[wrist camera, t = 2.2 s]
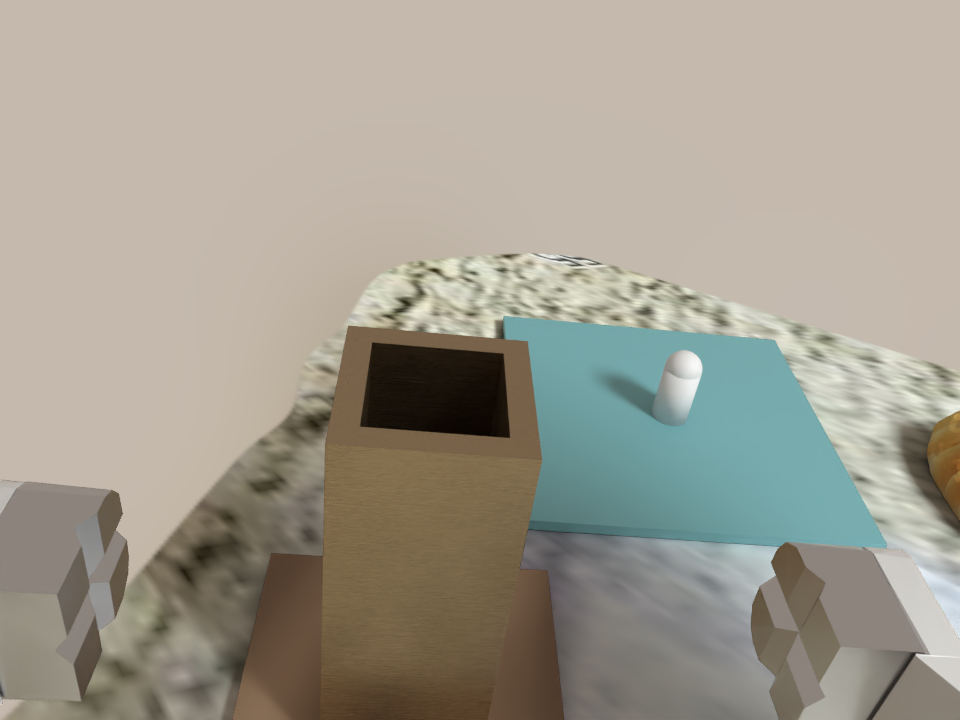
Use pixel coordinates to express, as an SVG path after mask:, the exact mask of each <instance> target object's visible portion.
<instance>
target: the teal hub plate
mask: <svg viewBox="0 0 960 720" xmlns="http://www.w3.org/2000/svg"><path fill="white" fill-rule="evenodd" d="M503 335H504V339H508V340H520V341H528V347H529V355H530V364H531V372H532V380H533V388H534V396H535V405H536V413H537V421H538V429H539V437H540V446H541V454H542V464H541V469H540V474H539V479H538V483H537V488H536V493H535V498H534V502H533V507H532V512H531V516H530V521H529V526H528V529H531V530H545V531H560V532H575V533H590V534H605V535H620V536H634V537H649V538H664V539H679V540H694V541H708V542H723V543H738V544H753V545H768V546H782V545H783V544H784V543H785V542H798V543H813V544H828V545H843V546H857V547H860V548H862V547H873V548H886V546H887V543H886V542H885V540H884V538H883V536H882V534H881V532H880V531H879V529H878V527H877V525H876V523H875V522H874V520H873V518H872V516H871V514H870V512H869V511H868V509H867V507H866V505H865V503H864V502H863V500H862V498H861V496H860V494H859V493H858V491H857V489H856V487H855V485H854V483H853V482H852V480H851V478H850V476H849V474H848V473H847V471H846V469H845V467H844V465H843V463H842V462H841V460H840V458H839V456H838V454H837V453H836V451H835V449H834V447H833V445H832V443H831V442H830V440H829V438H828V436H827V434H826V433H825V431H824V429H823V427H822V425H821V423H820V422H819V420H818V418H817V416H816V414H815V413H814V411H813V409H812V407H811V405H810V404H809V402H808V400H807V398H806V396H805V394H804V393H803V391H802V389H801V387H800V385H799V384H798V382H797V380H796V378H795V376H794V374H793V373H792V371H791V369H790V367H789V365H788V364H787V362H786V360H785V358H784V356H783V354H782V353H781V351H780V349H779V347H778V345H777V344H776V342H775V340H768V339H757V338H746V337H734V336H723V335H712V334H701V333H689V332H678V331H667V330H655V329H644V328H633V327H621V326H610V325H599V324H588V323H576V322H565V321H554V320H542V319H531V318H520V317H509V316H504V318H503Z"/></svg>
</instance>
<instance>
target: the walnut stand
mask: <svg viewBox="0 0 960 720" xmlns="http://www.w3.org/2000/svg"><path fill="white" fill-rule="evenodd" d="M322 590H323V556H309V555H294V554H278V553H271V557H270V561H269V565H268V569H267V574H266V578H265V582H264V586H263V591H262V595H261V599H260V603H259V608H258V612H257V616H256V620H255V625H254V629H253V633H252V637H251V641H250V646H249V650H248V654H247V658H246V663H245V667H244V671H243V675H242V680H241V684H240V688H239V692H238V697H237V701H236V705H235V709H234V714H233V718H232V720H320V698H321V644H322ZM488 720H564V713H563V704H562V695H561V686H560V678H559V669H558V660H557V651H556V642H555V633H554V624H553V615H552V606H551V597H550V588H549V579H548V571H546V570H530V569H519V573H518V578H517V583H516V588H515V592H514V597H513V602H512V607H511V611H510V616H509V621H508V626H507V630H506V635H505V640H504V645H503V649H502V654H501V659H500V664H499V668H498V673H497V678H496V683H495V687H494V692H493V697H492V702H491V706H490V711H489V716H488Z"/></svg>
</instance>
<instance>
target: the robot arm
mask: <svg viewBox="0 0 960 720" xmlns="http://www.w3.org/2000/svg"><path fill="white" fill-rule="evenodd" d="M122 514H123V513H122V508H121V503H120V498H119V494H118V493H117V492H115V491H113V490H104V489H95V488H85V487H74V486H64V485H56V484H45V483H36V482H17V481H8V480H7V481H6V480H0V705H2V699H20V700H55V701H82V699H83V696H84V694H85V691H86V689H87V686H88V684H89V681H90V679H91V677H92V674H93V672H94V669H95V667H96V664H97V662H98V660H99V657H100V655H101V652H102V648H101V642H100V637H99V630H100V629H102V628H103V627H104V626H106V625H107V624H108V623H110V622H111V621H112V620H114V619H115V617H116V615H117V612H118V610H119V607H120V604H121V602H122V599H123V595H124V591H125V586H126V581H127V576H128V560H129V555H128V547H127V540H126V539H125V538H123V536H121V535H120V534H119V533H118V532H117V531H116V528H117V526H118V523H119V521H120V519H121V516H122ZM771 563H772V566H773V569H774V571H775V574H776V576H775V577H773V578H772V579H770V580H769V581H767V582H766V583H764V584H763V585H761V586H760V587H759V590H758V592H757V595H756V597H755V599H754V602H753V604H752V616H751V630H752V638H753V643H754V646H755V650H756V653H757V656H758V659H759V661H760V662H761V663H763V664H764V665H765V666H766V667H767V668H768V669H769V670H770V671H771V672H772V673H773V674H774V675H775V676H776V678H775V680H774V682H773V684H772V687H771V689H770V691H769V692H770V695H771V698H772V701H773V703H774V706H775V709H776V712H777V715H778V718H779V720H960V640H959V638H958V636H957V634H956V633H955V631H954V629H953V628H952V626H951V624H950V622H949V621H948V619H947V617H946V615H945V614H944V612H943V610H942V609H941V607H940V605H939V603H938V602H937V600H936V598H935V597H934V595H933V593H932V591H931V590H930V588H929V586H928V585H927V583H926V581H925V579H924V578H923V576H922V574H921V572H920V571H919V569H918V567H917V566H916V564H915V562H914V560H913V559H912V557H911V556H910V555H908V554H907V553H906V552H905V551H903V550H902V549H888V548H873V547H862V548H860V547H857V546H843V545H828V544H813V543H798V542H785V543H784V544H783V545H782V546H780V547H779V548H778V549H777V551H776V553H775V555H774V557H773V559H772V562H771Z"/></svg>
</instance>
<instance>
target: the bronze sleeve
mask: <svg viewBox="0 0 960 720" xmlns="http://www.w3.org/2000/svg"><path fill="white" fill-rule="evenodd" d="M541 464H542V454H541V446H540V437H539V429H538V421H537V413H536V405H535V396H534V388H533V380H532V372H531V364H530V355H529V347H528V341H520V340H508V339H496V338H485V337H473V336H462V335H450V334H438V333H427V332H415V331H404V330H392V329H381V328H369V327H357V326H348V330H347V335H346V340H345V345H344V350H343V355H342V361H341V366H340V371H339V376H338V381H337V386H336V391H335V397H334V402H333V407H332V412H331V417H330V422H329V427H328V433H327V438H326V443H325V483H324V537H323V590H322V644H321V698H320V720H488V716H489V711H490V706H491V702H492V697H493V692H494V687H495V683H496V678H497V673H498V668H499V664H500V659H501V654H502V649H503V645H504V640H505V635H506V630H507V626H508V621H509V616H510V611H511V607H512V602H513V597H514V592H515V588H516V583H517V578H518V573H519V569H520V564H521V559H522V554H523V550H524V545H525V540H526V535H527V531H528V526H529V521H530V516H531V512H532V507H533V502H534V498H535V493H536V488H537V483H538V479H539V474H540V469H541Z"/></svg>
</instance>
